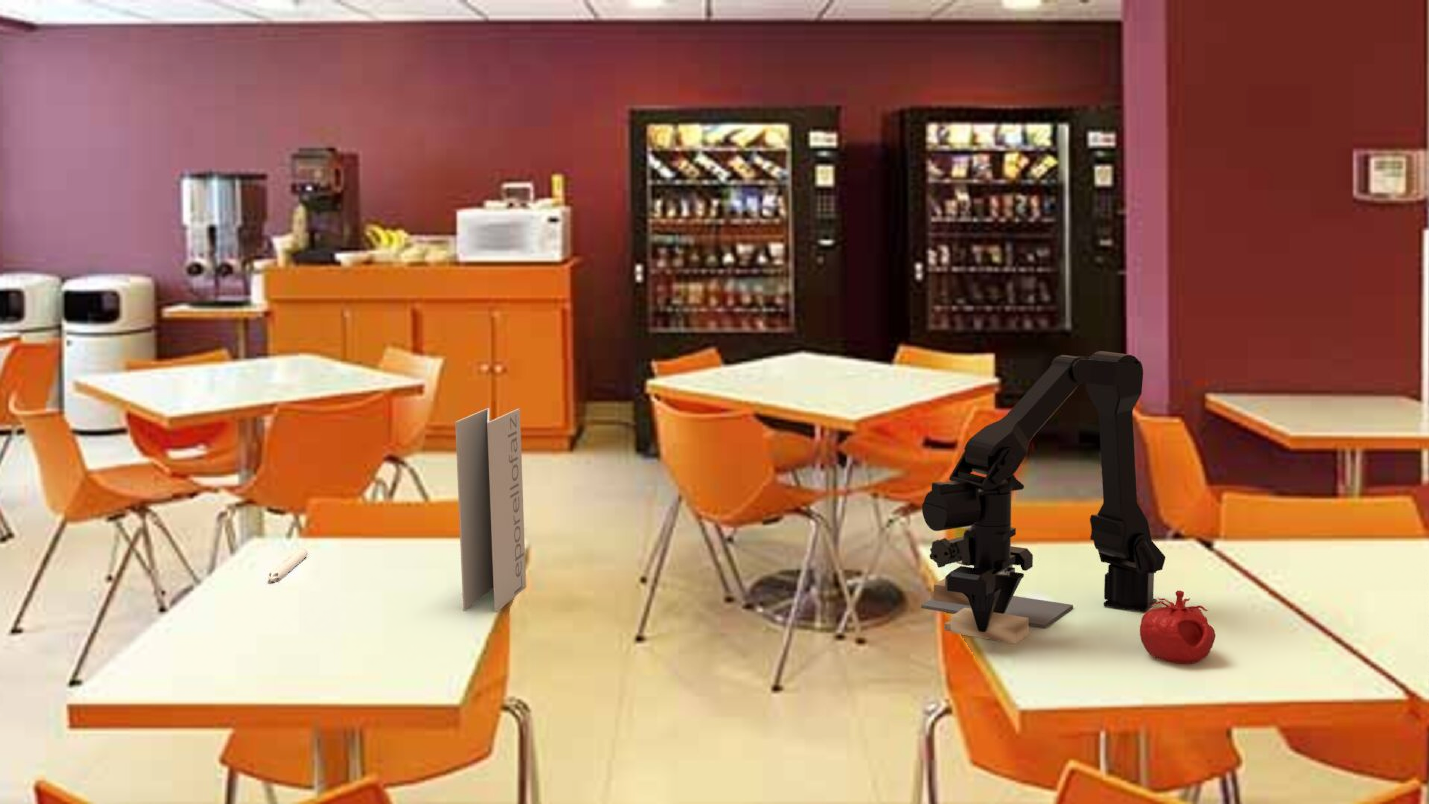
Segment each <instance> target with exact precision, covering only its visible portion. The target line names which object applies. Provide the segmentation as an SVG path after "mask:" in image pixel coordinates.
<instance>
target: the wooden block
mask: <svg viewBox="0 0 1429 804" xmlns="http://www.w3.org/2000/svg"><path fill="white" fill-rule="evenodd" d="M933 598H934V600H937V601H943V602H950V603H956V604H962V605H968V606H970V603H969V600H968V598H967V597H966V596H965V595H964V594H963V593H959V592H952V591H947V590H946V589H945V578H943V579H941V580H940V581H938V582H936V583H934V584H933Z"/></svg>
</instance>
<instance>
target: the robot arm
mask: <svg viewBox="0 0 1429 804" xmlns="http://www.w3.org/2000/svg"><path fill="white" fill-rule="evenodd" d="M1143 379H1144V366H1143V364H1142V362H1141V360H1139V359H1138V358H1137V357H1136V356H1134V355H1133V354H1127V353H1126V354H1125V353H1119V352H1112V351H1111V352H1110V351H1103V350H1101V351H1100V350H1099V351H1096V352H1094V353H1092V354H1091V355H1090V356H1089V357H1088V356H1087V357H1086V356H1073V355H1066V354H1061V355H1058V356H1056V357H1055V358H1053V360H1052V361H1051V363H1050V367H1048V369H1047V370H1046V371H1045V372H1044V373H1043V374H1042V376H1040V377H1039V378H1038V380H1037V381H1036V382H1035V383H1034V384H1033V385H1032V386H1031V387H1030V388H1029V390H1028V391H1027V392H1026V393H1025V394H1024V395H1023V396H1022V398H1020V399H1019V401H1018V402H1017V403H1016V404H1015V405H1014V406H1013V407H1012V408H1011V409H1010V410H1009V411H1008V413H1006V415H1005V416H1003V417H1002V418H1000V419H999V420H997V421H995V422H994V421H993V422H992V423H990V424H988V425H986V426H984V427H983V428H982V429H980V430H979V431H978V432H976V433H975V434H974V435H972V436H971V437H970V438H969V439H968V441H966V444H965V446H964V448H963V450H964V451H963V453H962V454H961V457H960V458H959V460H958V462H957V463H956V465H955V467H954V469H953V471H952V472H951V474H950V475H949V479H948V480H949V481H944V482H943V481H934V482H932V483H931V490H930V491H929V492H927V493H926V495H925V496H924V500H923V502H922V504H921V513H922V516H923V519H924V522H925V524H926V525H927V527H928V528H929V529H930V530H932V531H934V532H940V531H946V530H952V529H953V530H954V528H961V527H967V526H971V528H969V529H967V530H966V531H965V532H964V536H963V537H959V538H955V539H954V538H951V539H947V538H946V537H944V538H942V539H936V540H933V541H932V543H931V547H930V548H929V551H930V554H929V558H930V560H932V561H933V562H935V563H936V565H937V568H944V567H946V566H947V565H950V564H955V563H958V562H959V561H962V563H961V565H960V566H958V567H956V568H955V569H953V570H951V571H950V572H949V573H948V574H947V575H946V576H945V577H944V579H945V589H946V590H947V591H952V592H959V593H963V594H964V595H965V596H966V597H967V598H968V600H969V603H970V606H971V609H972V612H973V615H974V619H975V622H976V625H977V628H978V631H980V632H986V630H987V628H988V625H989V623H990V620H991V617H992V614H993V612H995V613H1001V614H1004V613H1005V611H1006V609H1007V607H1008V605H1009V603H1010V601H1011V599H1012V597H1013V596H1015V595H1014V594H1015V592H1016V591H1017V589H1018V587H1019V585H1020V583H1021V581H1022V579H1023V578H1024V577H1025V573H1022V572H1016V567H1014V566H1020V568H1021V570H1022V571H1025V572H1027V571H1028V570H1030V569H1032V568H1033V565H1034V564H1033V562H1034V557H1033V556H1034V555H1033V553H1032V552H1031V551H1030V550H1029V549H1028V548H1027V547H1020V546H1012V545H1011V544H1012V543H1011V542H1012V537H1014V536H1016V534H1017V533H1016V532H1017V528H1016V527H1012V492H1014V491H1022V490H1024V489H1025V485H1024V484H1023V483H1022V482H1020V481H1019V480H1018V479H1017V478H1016V476H1015V473H1016V472H1017V471H1018V469H1019V468H1020V466H1021V465H1022V463H1023V462H1024V460H1025V459H1026V457H1027V455H1028V454H1029V453H1028V452H1029V448H1030V447H1029V445H1030V441H1031V440H1032V439H1033V437H1035V435H1036V434H1037V432H1038V431H1040V429H1041V428H1042V427H1043V426H1044V425H1045V424H1046V423H1047V421H1048V420H1049V419H1050V418H1051V417H1052V416H1053V415H1054V414H1055V413H1056V411H1057V410H1059V408H1060V407H1061V406H1062V405H1063V404H1064V403H1065V401H1066V400H1067V399H1068V398H1069V397H1071V395H1072V394H1073V393H1074V391H1075V390H1077V388H1078V387H1079V386H1080V385H1081V384H1085V388H1086V394H1087V395H1088V397H1089V399H1090V400H1091V402H1092V404H1093V405H1094V407H1095V409H1096V411H1097V415H1098V426H1099V427H1098V428H1099V430H1098V431H1099V446H1100V462H1101V463H1100V464H1101V466H1100V467H1101V479H1102V480H1101V481H1102V497H1103V498H1102V499H1103V500H1102V501H1103V502H1102V505H1101V507H1100V508H1099V510H1098V512H1097V514H1091V515H1090V517H1089V522H1090V529H1091V531H1090V537H1089V539H1090V540H1091V541H1093V544H1094V548H1095V550H1097V553H1098V556H1099V559H1100V562H1101V563H1106V564H1108V565H1107V566H1108V569H1107V570H1108V571H1107V572H1106V573H1105V574H1104V588H1103V589H1104V594H1103V599H1104V600H1105V601H1104V602H1103V607H1108V608H1114V609H1120V610H1121V609H1122V610H1128V611H1129V610H1130V611H1135V612H1141V613H1146V612H1147V611H1149V610H1150V609H1151V608H1152V607H1153V606H1154V605H1153V604H1154V603H1156V602H1158V601H1157V599H1158V598H1154V588H1155V587H1154V585H1155V584H1154V582H1155V578H1154V577H1155V574H1156V573H1157V572H1159V571H1162V570H1163V569H1164V564H1165V561H1166V555H1164V553H1163V552H1162V551H1161V550H1160V548H1158V545H1156V544H1155V543H1154V541H1153V539H1152V534H1151V529H1150V523H1149V520H1148V518H1147V516H1146V515H1145V513H1144V511H1143V510H1142V507H1141V506H1140V505H1139V502H1138V496H1137V495H1138V493H1137V490H1138V489H1137V474H1136V471H1137V470H1136V456H1135V453H1136V451H1135V433H1134V417H1133V414H1134V408H1135V407H1136V405H1137V403H1138V401H1139V399H1140V398H1141V396H1142V392H1143V381H1144V380H1143ZM974 473H975V474H974ZM978 474H980V475H978ZM982 475H983V476H982ZM971 566H972V567H971ZM1149 605H1152V606H1149Z"/></svg>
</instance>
